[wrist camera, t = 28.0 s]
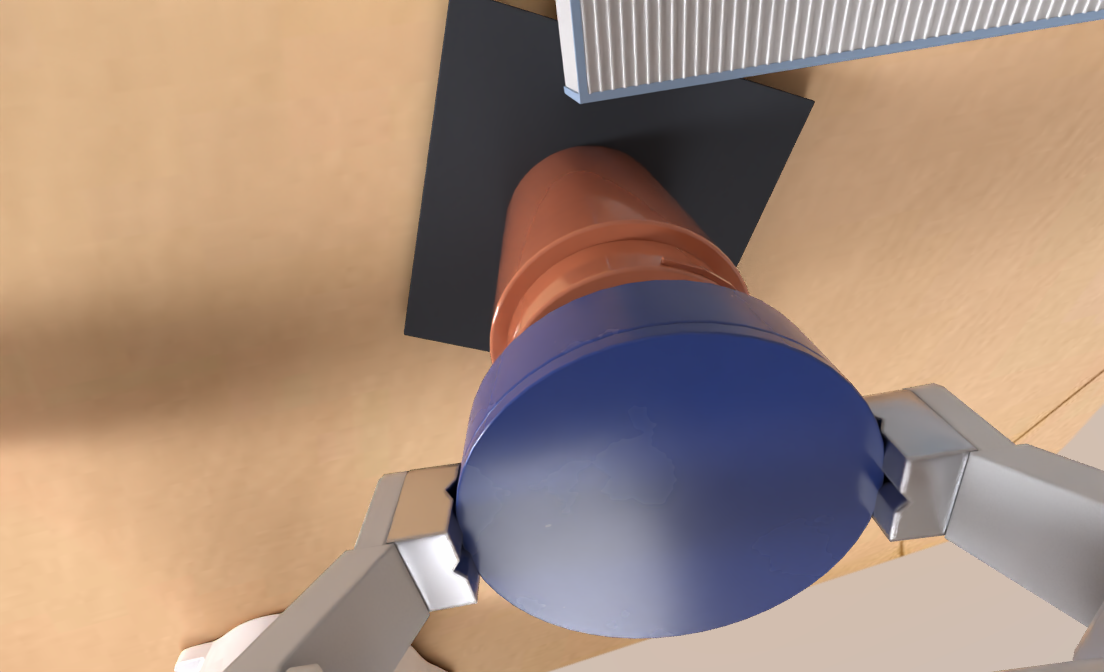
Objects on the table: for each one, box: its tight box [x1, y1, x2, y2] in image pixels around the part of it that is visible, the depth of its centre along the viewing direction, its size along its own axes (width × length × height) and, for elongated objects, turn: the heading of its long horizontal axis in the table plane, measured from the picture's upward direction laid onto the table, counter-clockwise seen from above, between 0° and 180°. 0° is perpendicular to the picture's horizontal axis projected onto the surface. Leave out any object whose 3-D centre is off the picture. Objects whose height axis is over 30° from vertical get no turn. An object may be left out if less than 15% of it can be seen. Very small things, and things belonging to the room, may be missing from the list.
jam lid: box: [456, 280, 884, 638], centre depth 9 cm, size 7×7×2 cm
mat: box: [404, 0, 815, 352], centre depth 20 cm, size 13×13×1 cm
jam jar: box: [490, 145, 749, 365], centre depth 15 cm, size 6×6×11 cm
